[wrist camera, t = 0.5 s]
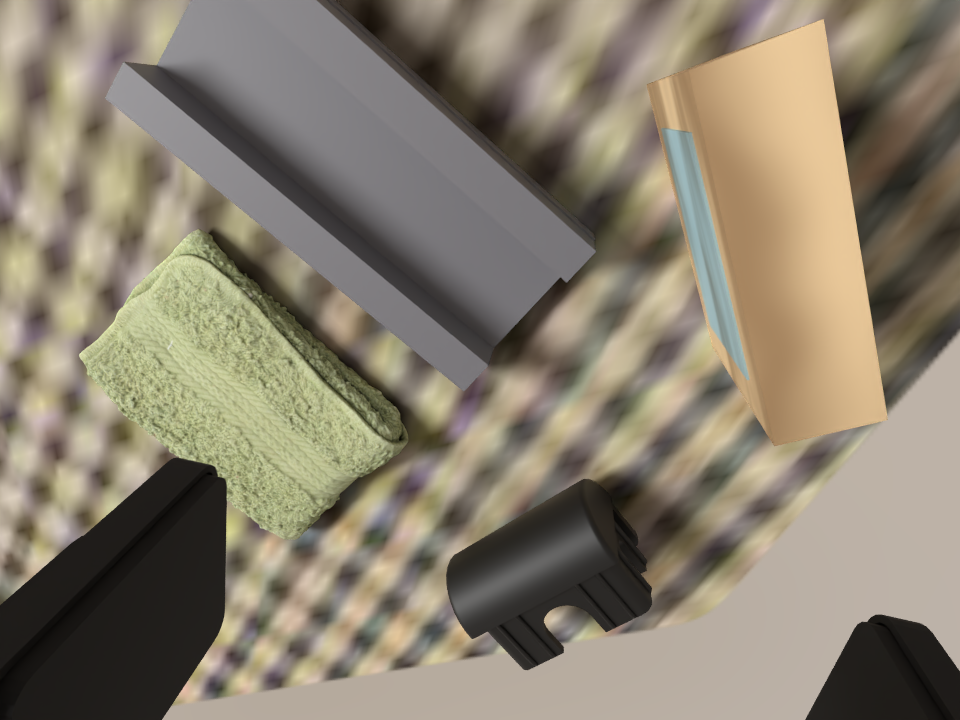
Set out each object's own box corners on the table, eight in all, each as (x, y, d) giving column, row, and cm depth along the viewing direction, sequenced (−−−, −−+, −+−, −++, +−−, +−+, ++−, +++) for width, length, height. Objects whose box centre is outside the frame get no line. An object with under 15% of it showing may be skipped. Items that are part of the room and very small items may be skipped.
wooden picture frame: (734, 50, 29) (826, 17, 19) (790, 325, 33) (890, 419, 23) (644, 85, 30) (685, 71, 20) (710, 347, 34) (772, 446, 24)
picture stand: (251, -76, 29) (206, -103, 26) (593, 234, 32) (597, 249, 29) (156, 101, 33) (104, 100, 29) (473, 363, 36) (462, 392, 32)
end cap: (580, 452, 38) (584, 521, 31) (647, 534, 39) (663, 614, 33) (455, 529, 41) (435, 604, 35) (521, 601, 42) (513, 685, 36)
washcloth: (204, 213, 35) (171, 222, 32) (425, 423, 39) (414, 449, 36) (91, 356, 40) (53, 376, 37) (297, 533, 43) (278, 564, 40)
